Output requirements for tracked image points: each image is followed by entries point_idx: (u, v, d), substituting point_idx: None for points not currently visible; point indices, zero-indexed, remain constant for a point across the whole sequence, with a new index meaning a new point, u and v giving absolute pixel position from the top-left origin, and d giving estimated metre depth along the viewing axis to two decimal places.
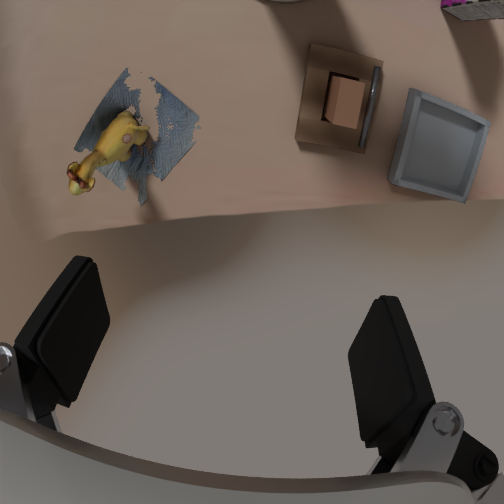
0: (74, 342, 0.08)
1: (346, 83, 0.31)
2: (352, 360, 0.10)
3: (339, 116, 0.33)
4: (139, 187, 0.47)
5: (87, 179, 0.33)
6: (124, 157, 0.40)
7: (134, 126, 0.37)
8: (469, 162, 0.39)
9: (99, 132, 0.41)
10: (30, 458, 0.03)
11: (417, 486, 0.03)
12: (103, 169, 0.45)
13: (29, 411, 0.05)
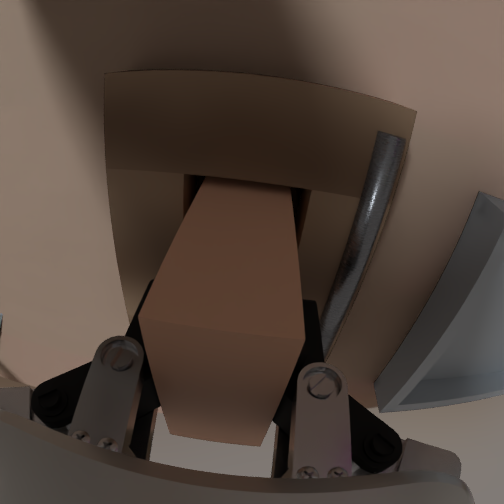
0: None
1: (178, 345, 0.06)
2: None
3: (186, 426, 0.08)
4: None
5: None
6: None
7: None
8: None
9: None
10: (30, 457, 0.03)
11: (417, 486, 0.03)
12: None
13: (130, 424, 0.05)
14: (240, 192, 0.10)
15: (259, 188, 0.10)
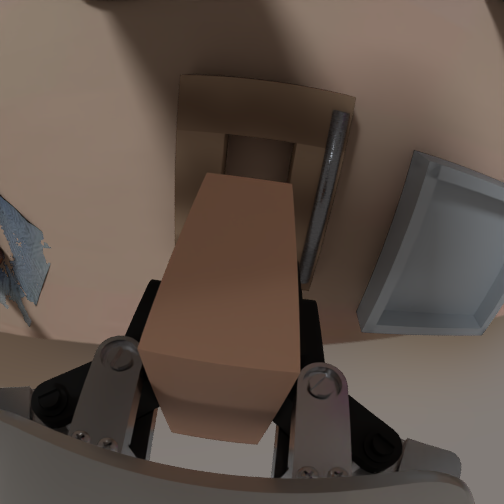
0: None
1: (178, 371, 0.06)
2: None
3: (187, 427, 0.08)
4: (19, 308, 0.31)
5: None
6: None
7: None
8: (502, 274, 0.22)
9: None
10: (30, 457, 0.03)
11: (417, 486, 0.03)
12: None
13: (130, 424, 0.05)
14: (240, 196, 0.10)
15: (260, 190, 0.10)
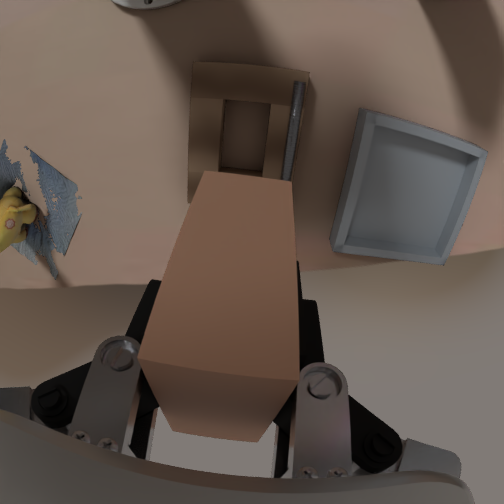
0: None
1: (178, 378, 0.06)
2: None
3: (188, 427, 0.09)
4: (48, 262, 0.39)
5: None
6: (17, 239, 0.32)
7: (14, 209, 0.29)
8: (453, 209, 0.30)
9: None
10: (30, 457, 0.03)
11: (417, 486, 0.03)
12: (15, 245, 0.37)
13: (130, 424, 0.05)
14: (239, 195, 0.09)
15: (259, 189, 0.10)
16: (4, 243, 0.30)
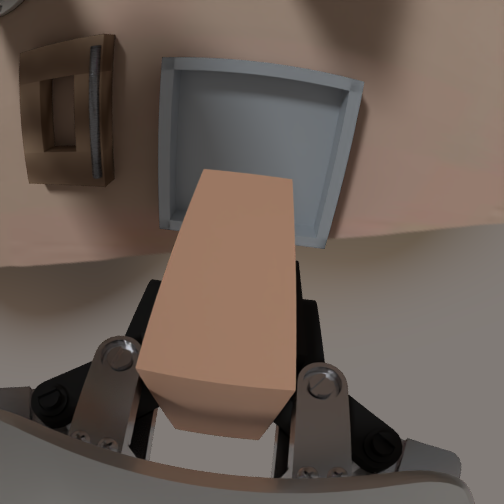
0: None
1: (176, 386, 0.06)
2: None
3: (189, 426, 0.09)
4: None
5: None
6: None
7: None
8: (328, 171, 0.25)
9: None
10: (30, 457, 0.03)
11: (417, 486, 0.03)
12: None
13: (130, 424, 0.05)
14: (238, 195, 0.09)
15: (259, 188, 0.10)
16: None
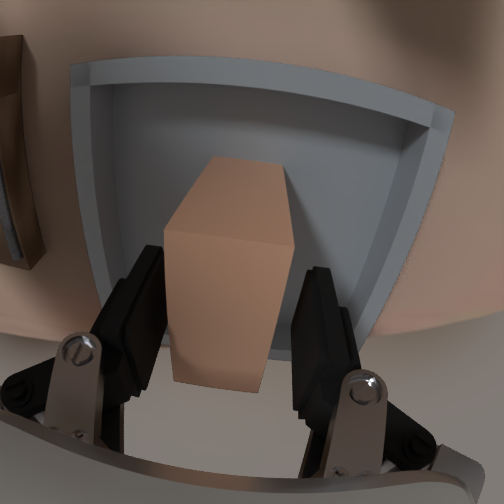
0: (150, 329, 0.09)
1: (193, 257, 0.07)
2: (292, 332, 0.11)
3: (190, 366, 0.09)
4: None
5: None
6: None
7: None
8: (371, 259, 0.15)
9: None
10: (30, 457, 0.03)
11: (417, 486, 0.03)
12: None
13: (97, 414, 0.05)
14: (241, 167, 0.12)
15: (257, 166, 0.12)
16: None
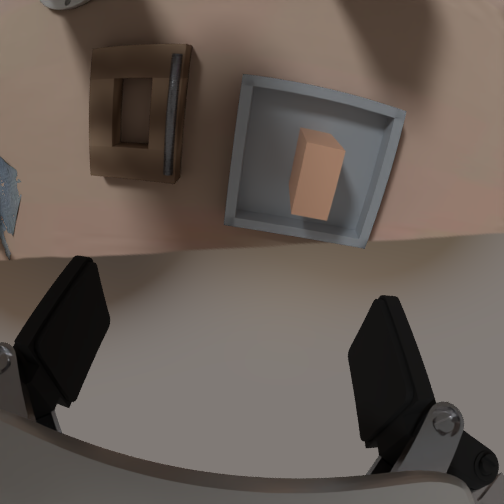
0: (74, 342, 0.08)
1: (314, 152, 0.22)
2: (352, 360, 0.10)
3: (301, 203, 0.24)
4: (2, 243, 0.39)
5: None
6: None
7: None
8: (371, 183, 0.29)
9: None
10: (30, 457, 0.03)
11: (417, 486, 0.03)
12: None
13: (29, 411, 0.05)
14: (315, 132, 0.26)
15: (321, 132, 0.27)
16: None
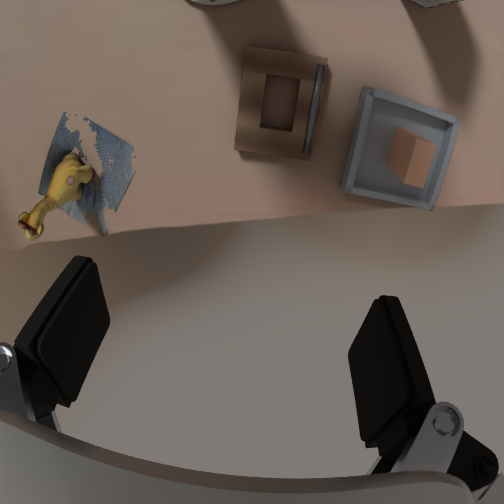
0: (74, 342, 0.08)
1: (420, 144, 0.31)
2: (352, 360, 0.10)
3: (410, 176, 0.33)
4: (98, 220, 0.48)
5: (37, 226, 0.34)
6: (75, 196, 0.41)
7: (75, 168, 0.38)
8: (436, 165, 0.38)
9: None
10: (30, 457, 0.03)
11: (417, 486, 0.03)
12: (65, 208, 0.47)
13: (29, 411, 0.05)
14: (407, 130, 0.35)
15: (409, 130, 0.36)
16: (64, 198, 0.39)
